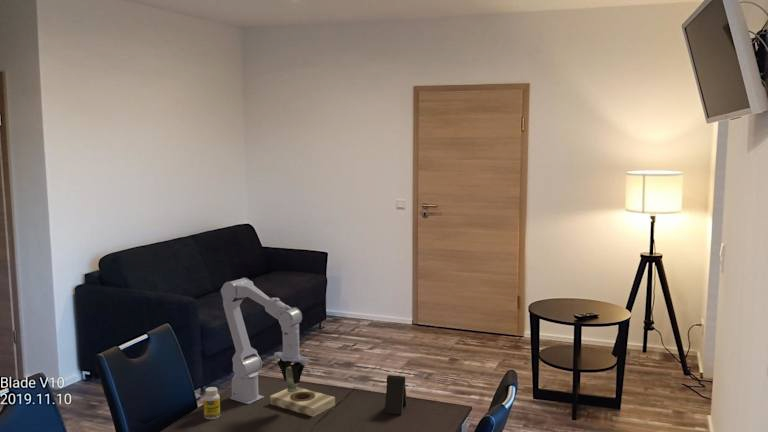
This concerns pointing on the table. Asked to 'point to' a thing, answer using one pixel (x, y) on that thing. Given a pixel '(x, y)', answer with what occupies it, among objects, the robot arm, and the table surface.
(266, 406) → the table surface
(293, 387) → the green peg
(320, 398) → the socket board
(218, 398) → the supplement bottle
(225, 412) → the table surface
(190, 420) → the table surface
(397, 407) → the phone stand
